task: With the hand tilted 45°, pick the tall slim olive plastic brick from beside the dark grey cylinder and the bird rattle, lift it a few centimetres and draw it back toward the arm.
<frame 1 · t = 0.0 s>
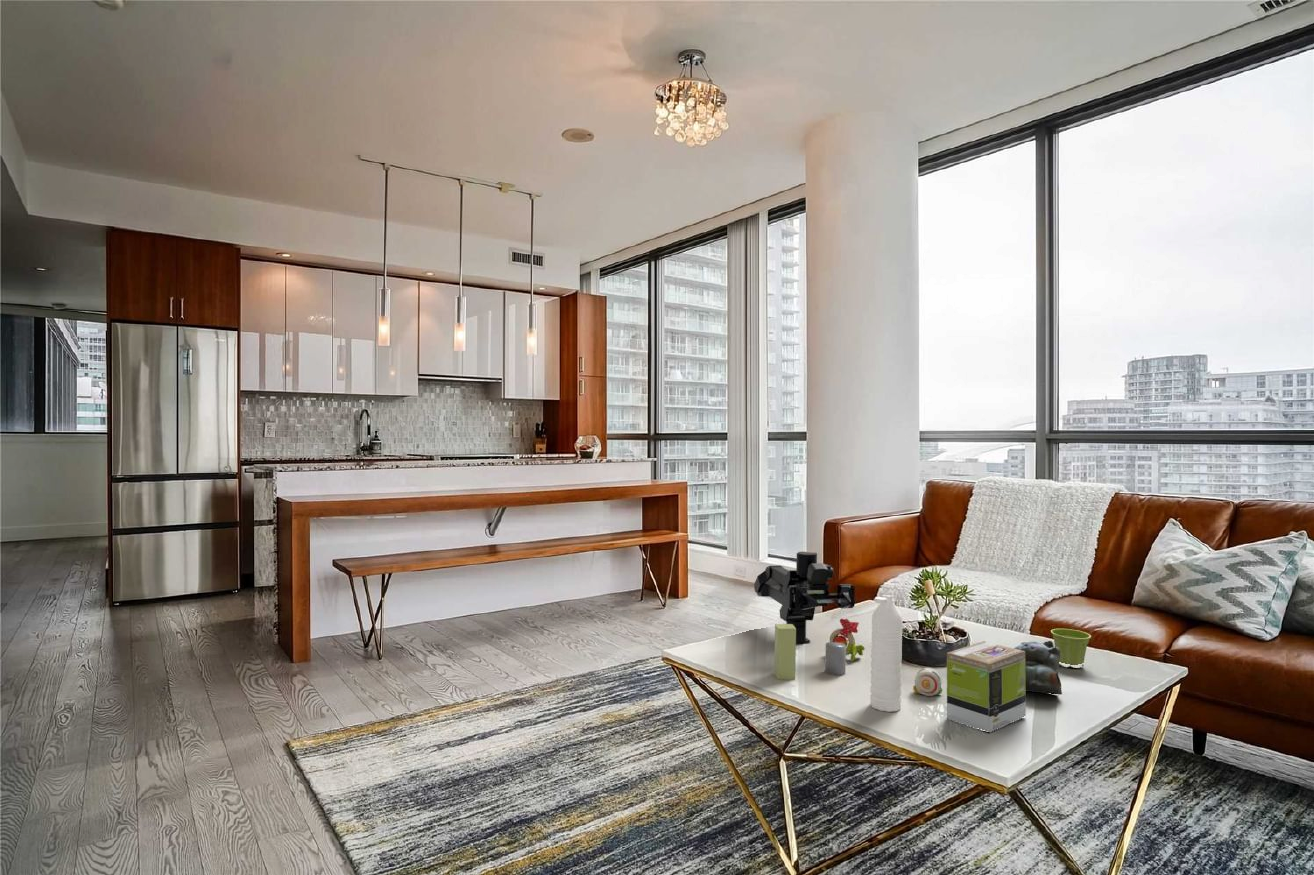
hand: (834, 603, 194), 17 cm above the table, tool horizontal, fingers open, 9 cm apart
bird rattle: (845, 658, 203), on the table
water bottle: (883, 709, 166), on the table
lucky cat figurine: (1027, 692, 179), on the table
olive brick: (784, 676, 187), on the table
grey cylinder: (835, 672, 191), on the table
plant pot: (1069, 666, 199), on the table
roller toy: (927, 694, 176), on the table
tea box: (985, 720, 161), on the table
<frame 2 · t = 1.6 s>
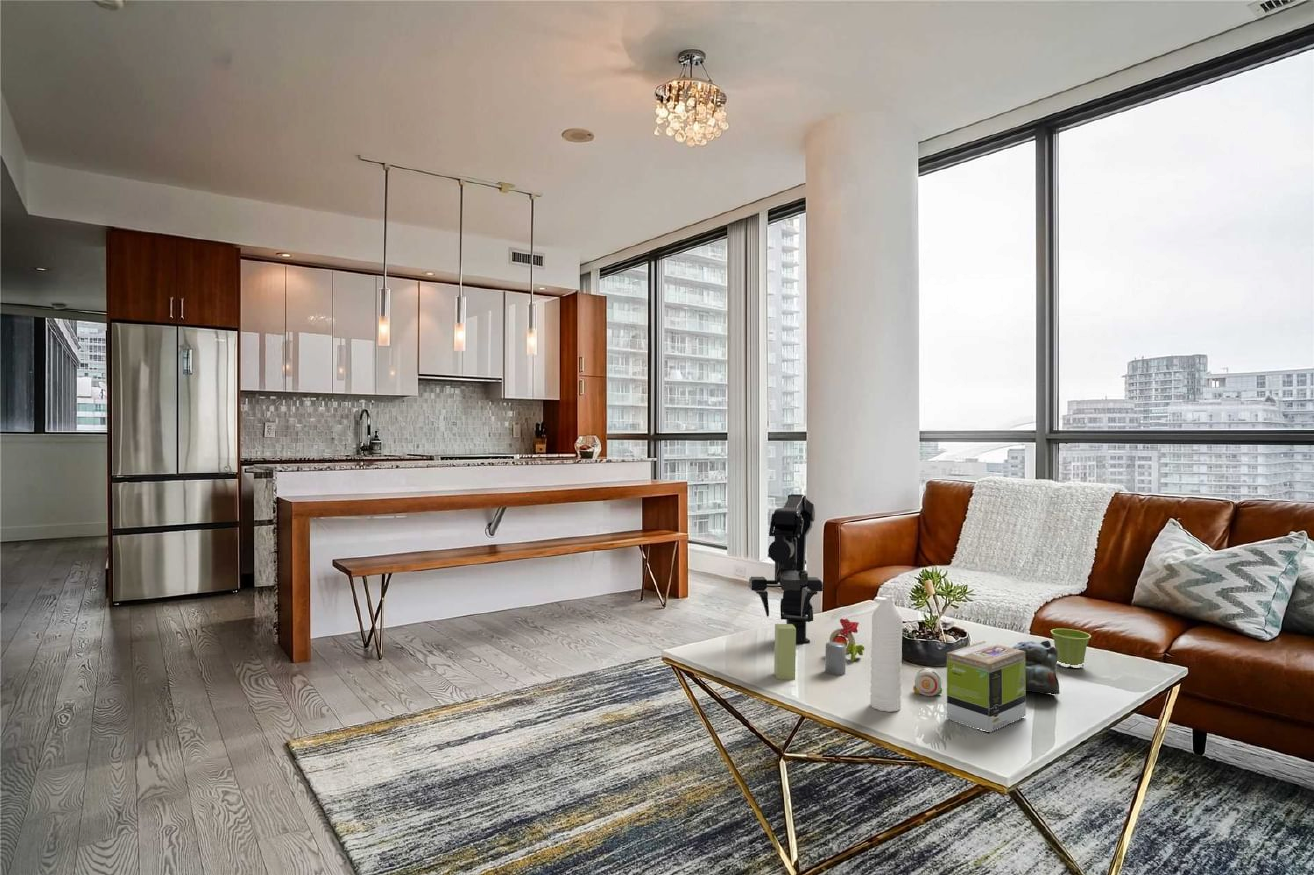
hand: (785, 616, 198), 12 cm above the table, tool pointing down, fingers open, 9 cm apart
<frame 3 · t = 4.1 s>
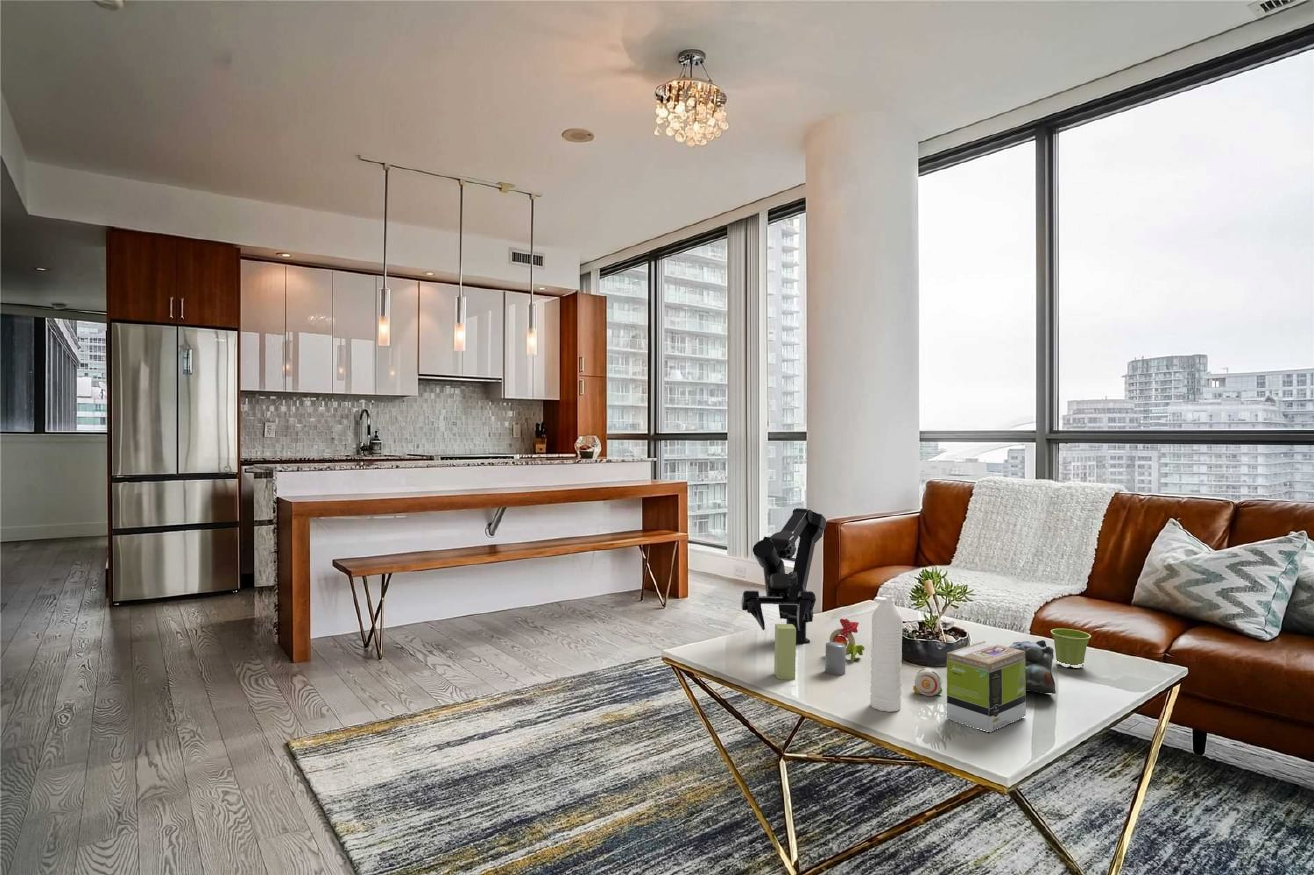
hand: (781, 629, 191), 11 cm above the table, tool tilted 45°, fingers open, 9 cm apart
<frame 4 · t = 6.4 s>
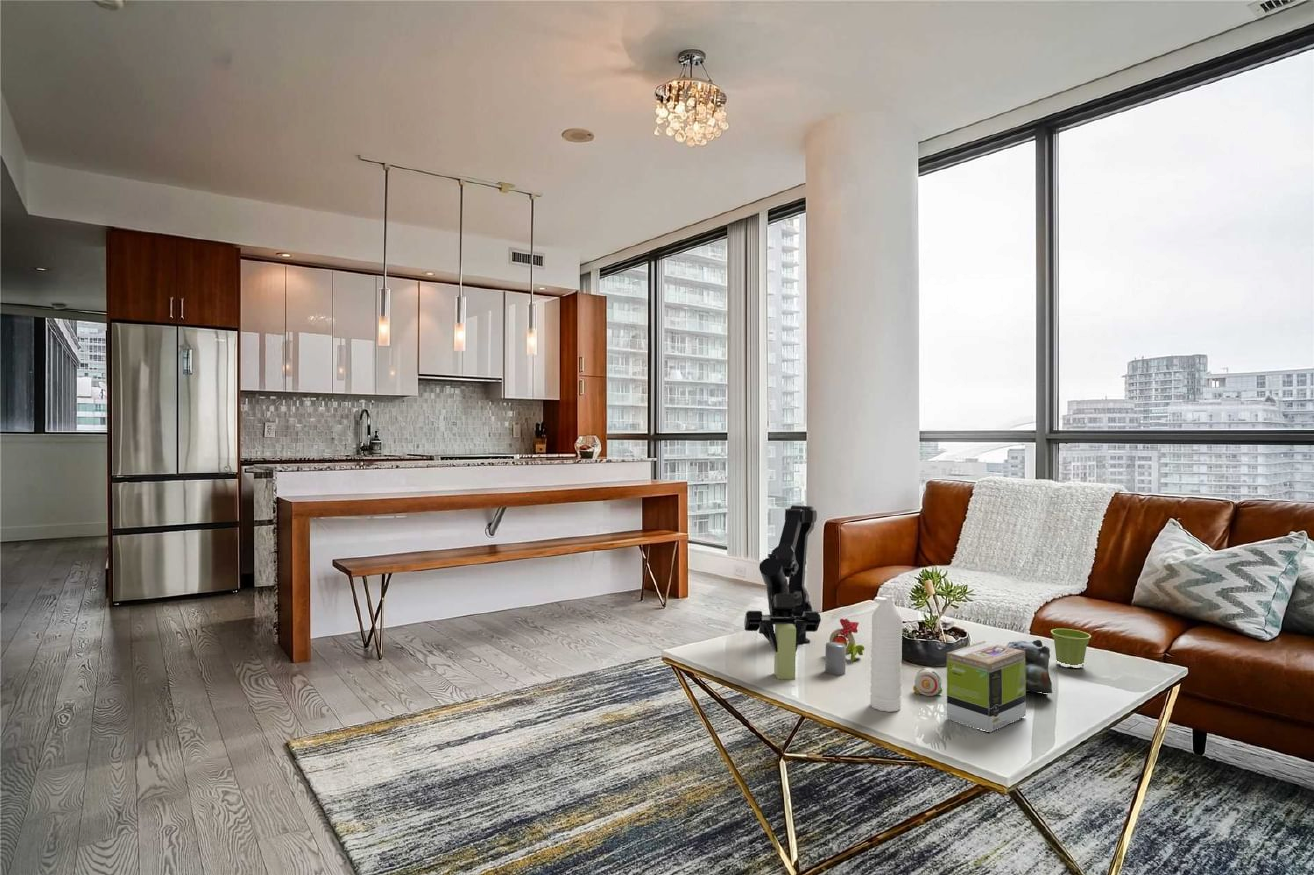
hand: (786, 651, 185), 7 cm above the table, tool tilted 45°, fingers closed on olive brick, 4 cm apart
olive brick: (784, 676, 187), on the table, touching gripper
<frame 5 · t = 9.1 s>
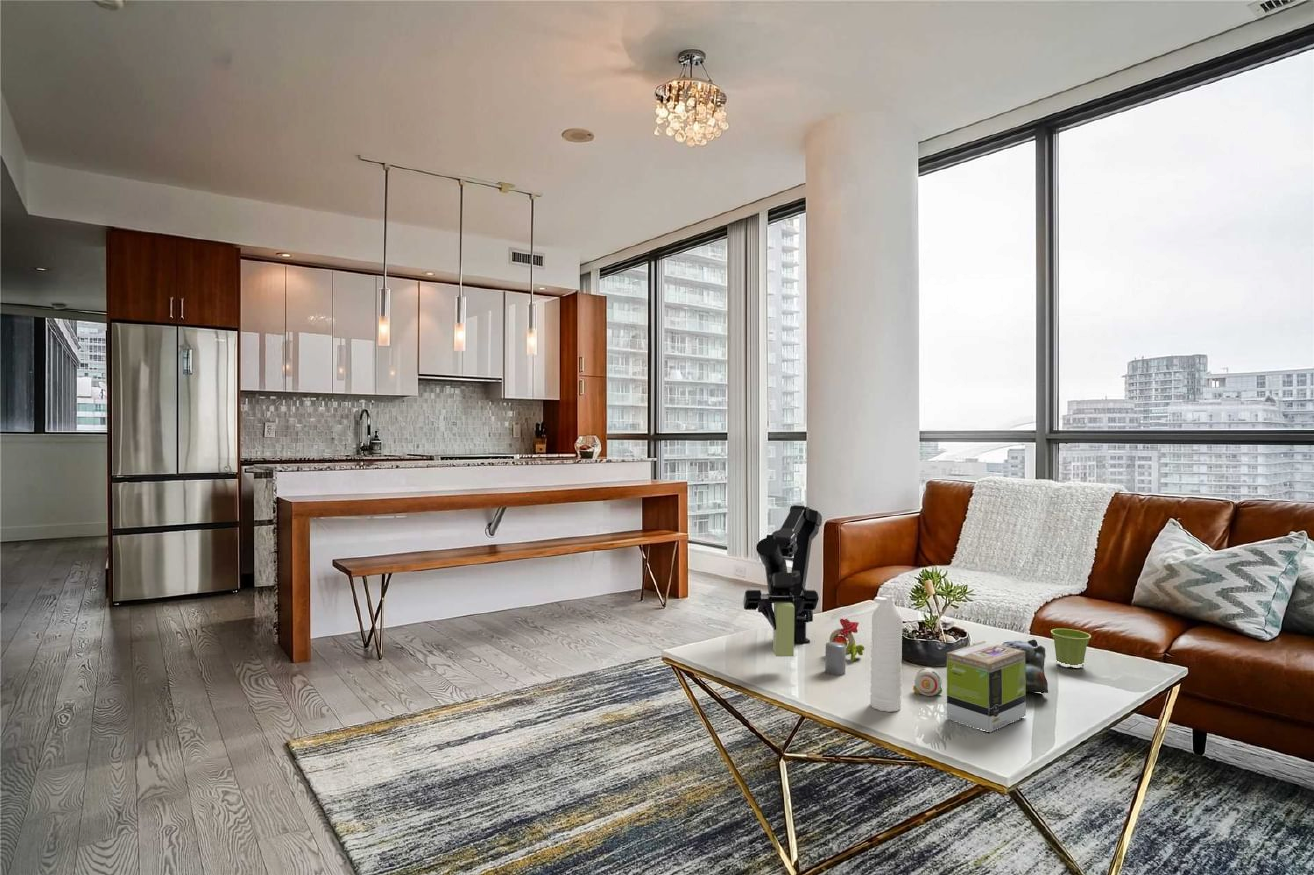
hand: (784, 629, 188), 11 cm above the table, tool tilted 45°, fingers closed on olive brick, 4 cm apart
olive brick: (783, 653, 190), point 5 cm above the table, touching gripper
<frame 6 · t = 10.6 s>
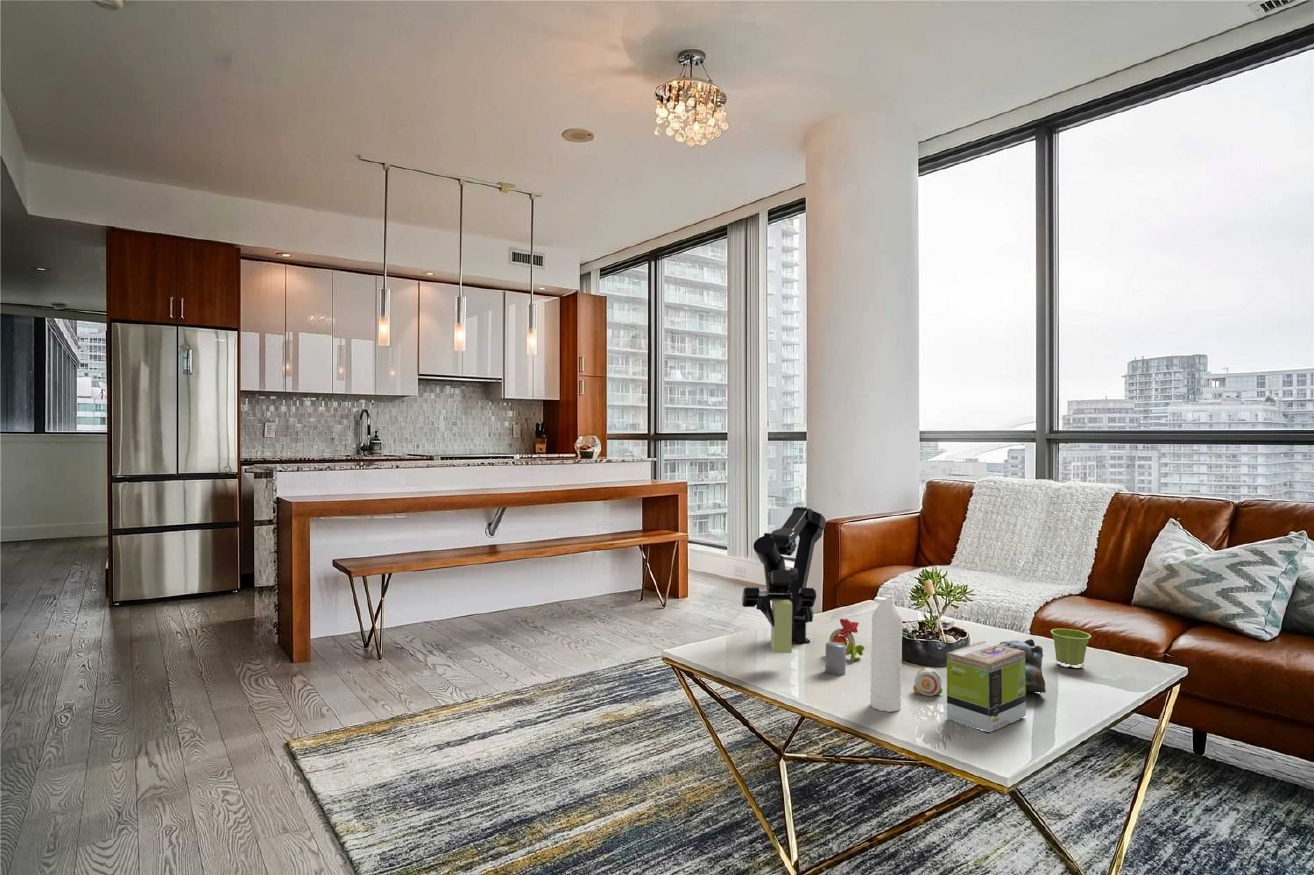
hand: (782, 626, 190), 12 cm above the table, tool tilted 45°, fingers closed on olive brick, 4 cm apart
olive brick: (781, 650, 192), point 5 cm above the table, touching gripper
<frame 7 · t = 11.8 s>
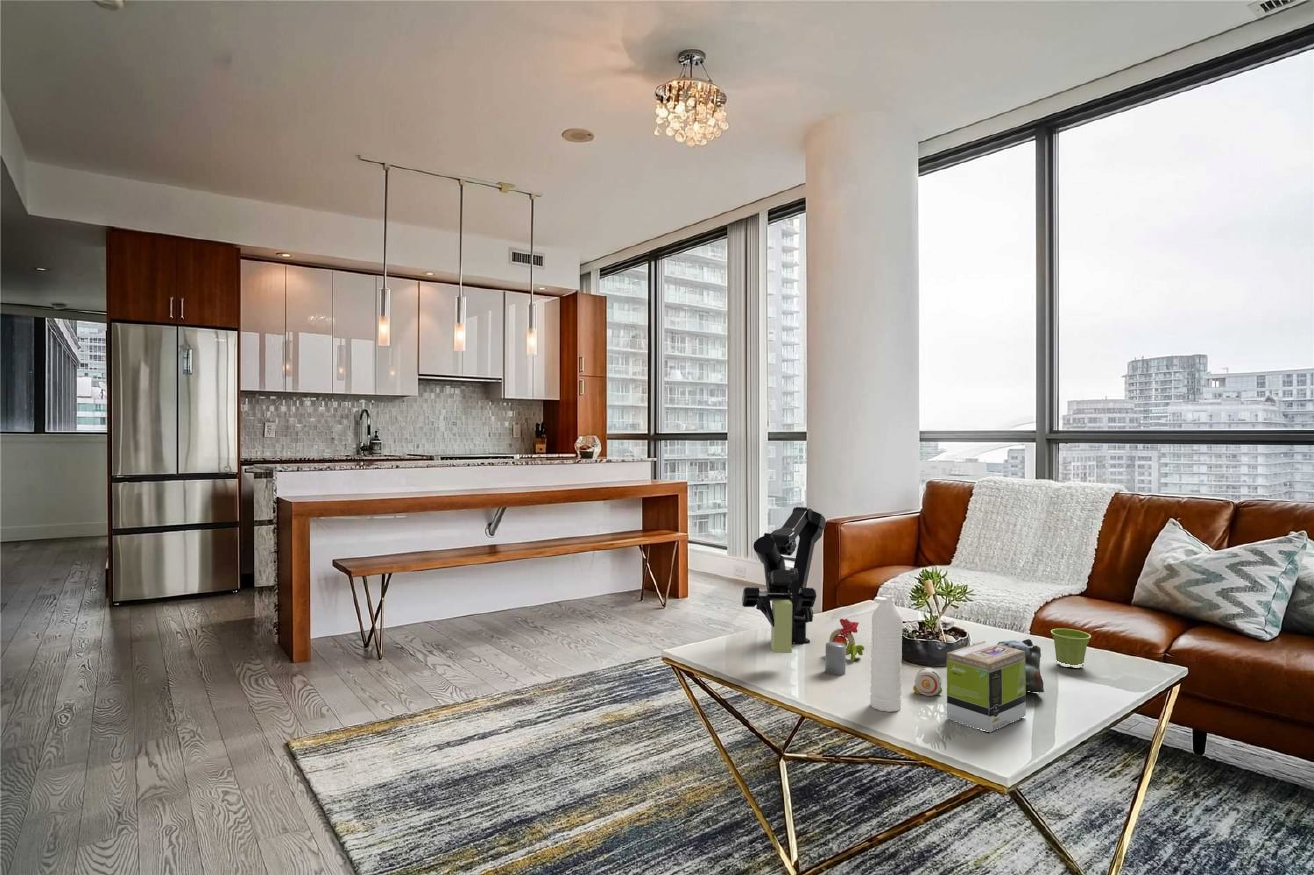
hand: (782, 626, 190), 12 cm above the table, tool tilted 45°, fingers closed on olive brick, 4 cm apart
olive brick: (781, 650, 192), point 5 cm above the table, touching gripper
at the end: the gripper is holding olive brick; olive brick point 4.9 cm above the table; grey cylinder moved 0.0 cm from its start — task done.
